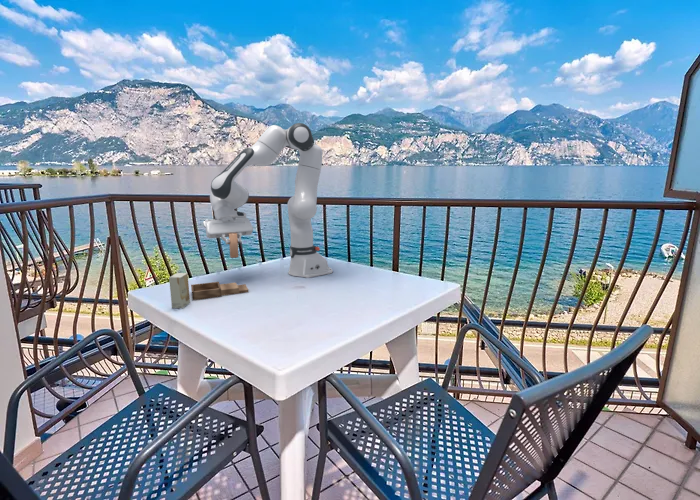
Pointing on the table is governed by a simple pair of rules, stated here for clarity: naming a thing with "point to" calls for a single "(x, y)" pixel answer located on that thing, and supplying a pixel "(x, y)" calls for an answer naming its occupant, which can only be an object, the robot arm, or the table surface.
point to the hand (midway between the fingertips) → (233, 243)
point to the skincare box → (179, 290)
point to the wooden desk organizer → (216, 290)
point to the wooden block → (233, 245)
